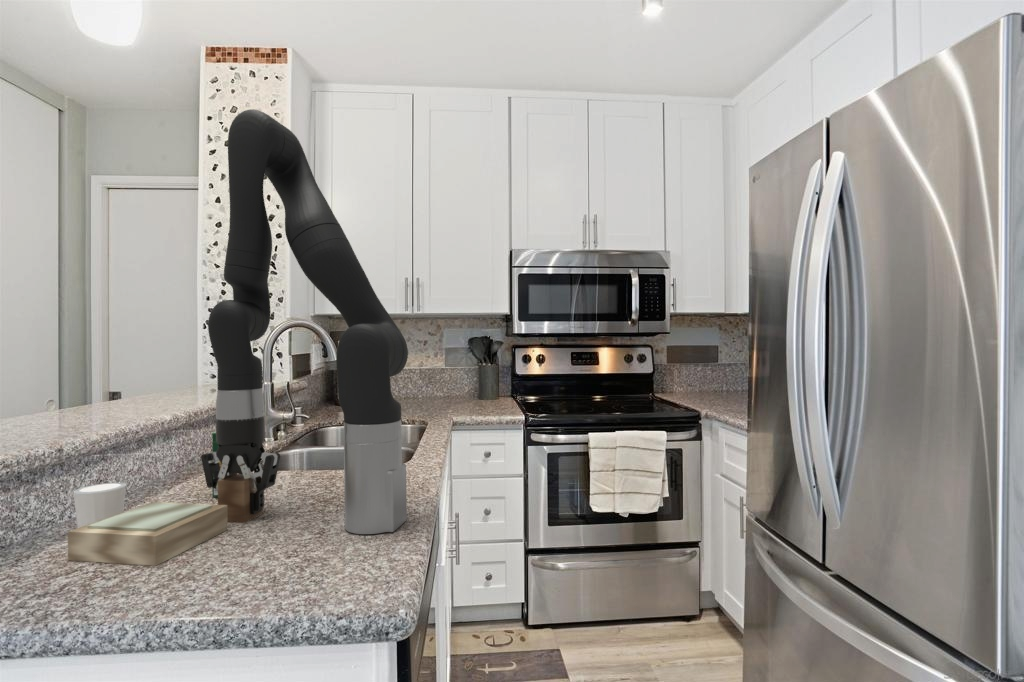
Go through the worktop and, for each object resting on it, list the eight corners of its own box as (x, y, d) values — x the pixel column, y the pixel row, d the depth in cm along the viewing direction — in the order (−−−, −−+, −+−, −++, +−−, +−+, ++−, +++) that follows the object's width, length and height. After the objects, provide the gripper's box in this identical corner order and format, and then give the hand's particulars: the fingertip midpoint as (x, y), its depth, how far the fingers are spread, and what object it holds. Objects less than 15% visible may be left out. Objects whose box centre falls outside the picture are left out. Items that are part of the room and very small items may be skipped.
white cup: (130, 520, 90) (130, 479, 90) (120, 533, 84) (120, 489, 84) (81, 526, 87) (80, 484, 87) (66, 540, 81) (66, 495, 81)
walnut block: (263, 513, 93) (262, 474, 93) (244, 523, 88) (244, 481, 88) (237, 512, 94) (237, 473, 94) (218, 521, 89) (217, 480, 89)
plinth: (227, 529, 85) (227, 502, 85) (155, 565, 71) (155, 533, 71) (152, 526, 87) (151, 499, 87) (68, 560, 73) (68, 528, 73)
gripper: (290, 412, 94) (291, 507, 94) (219, 412, 96) (219, 504, 96) (264, 418, 86) (265, 521, 86) (187, 417, 89) (188, 517, 88)
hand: (241, 511), depth 91 cm, fingers open, 5 cm apart
